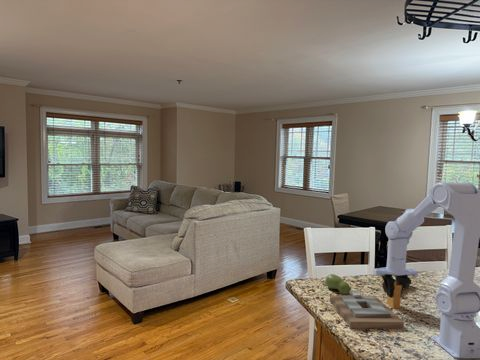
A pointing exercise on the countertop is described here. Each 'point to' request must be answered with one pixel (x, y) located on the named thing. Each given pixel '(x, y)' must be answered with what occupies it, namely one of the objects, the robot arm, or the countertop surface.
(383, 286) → the bolt
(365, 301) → the brown grey stepped board
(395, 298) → the notched wooden block
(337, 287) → the pear
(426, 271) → the countertop surface
